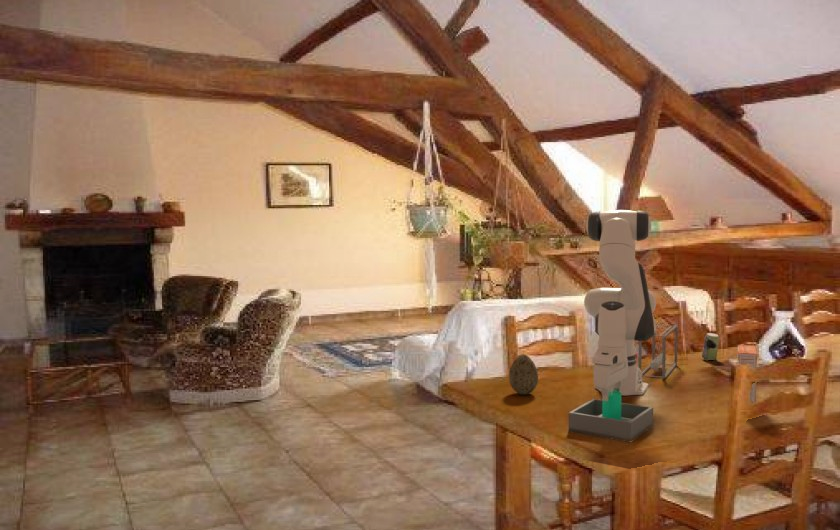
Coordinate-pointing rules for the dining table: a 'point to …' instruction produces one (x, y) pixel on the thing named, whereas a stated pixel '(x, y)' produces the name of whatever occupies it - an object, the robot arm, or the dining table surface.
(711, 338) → the beverage can
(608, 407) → the candle
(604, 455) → the dining table surface
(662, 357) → the newton's cradle
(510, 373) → the decorative egg
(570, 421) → the walled box
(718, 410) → the dining table surface
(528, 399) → the dining table surface
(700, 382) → the dining table surface
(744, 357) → the cracker box
